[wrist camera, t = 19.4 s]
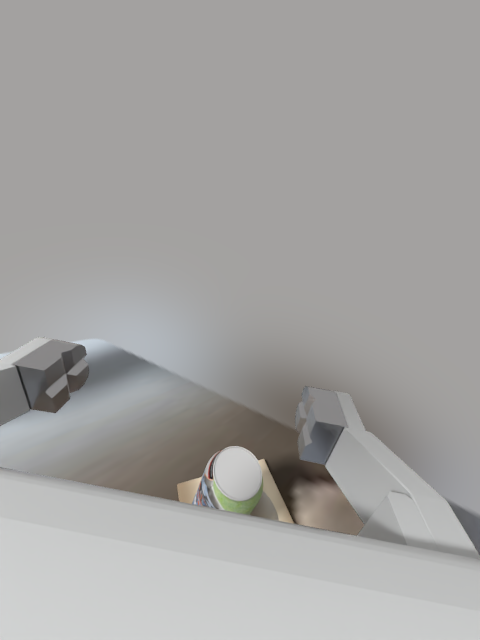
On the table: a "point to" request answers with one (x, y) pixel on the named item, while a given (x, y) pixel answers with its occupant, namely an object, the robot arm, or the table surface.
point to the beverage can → (231, 481)
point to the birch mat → (266, 507)
